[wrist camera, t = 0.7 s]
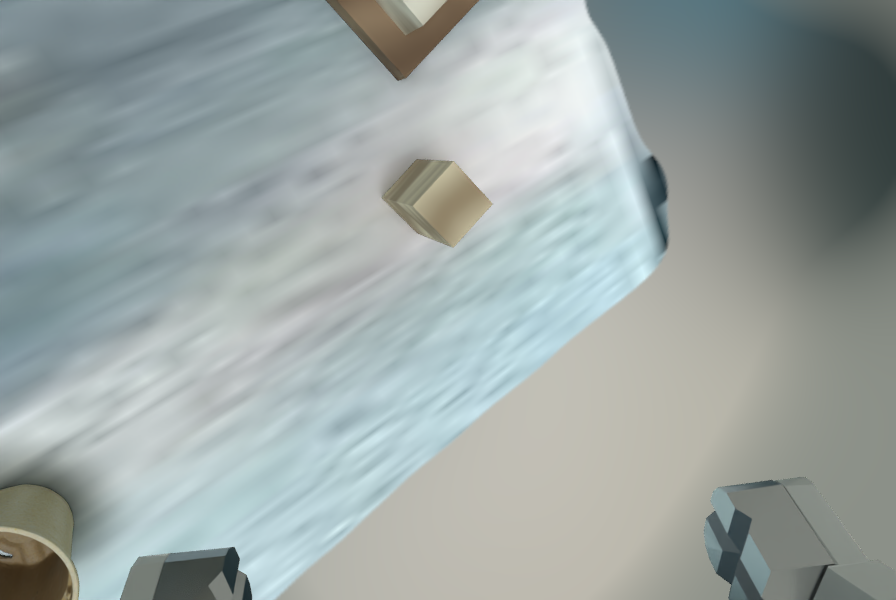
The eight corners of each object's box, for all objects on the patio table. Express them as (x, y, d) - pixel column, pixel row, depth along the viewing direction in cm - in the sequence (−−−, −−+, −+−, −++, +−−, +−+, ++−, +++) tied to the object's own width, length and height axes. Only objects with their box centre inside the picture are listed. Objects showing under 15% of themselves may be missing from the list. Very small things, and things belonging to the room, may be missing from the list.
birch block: (381, 197, 49) (412, 206, 42) (416, 159, 49) (453, 161, 42) (417, 233, 51) (453, 247, 43) (451, 196, 51) (492, 204, 44)
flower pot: (-51, 456, 43) (-109, 526, 35) (108, 463, 46) (88, 528, 38) (-66, 584, 44) (-124, 679, 36) (90, 581, 48) (67, 668, 40)
